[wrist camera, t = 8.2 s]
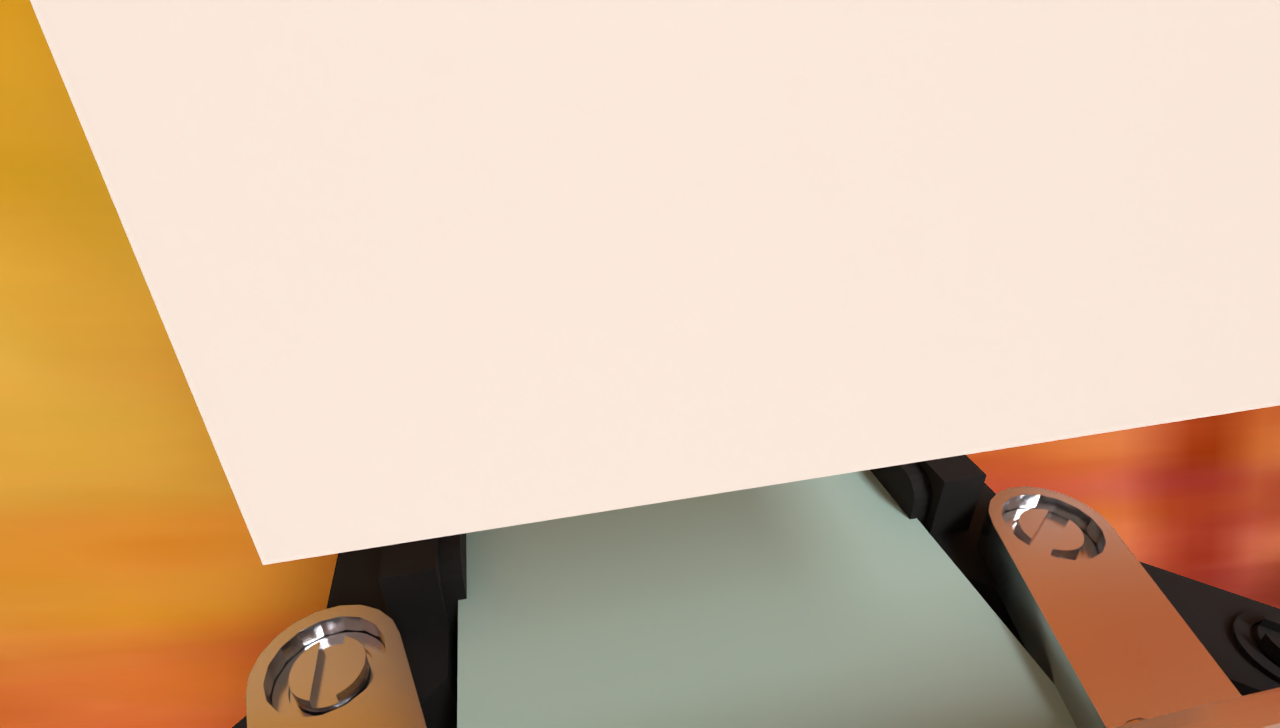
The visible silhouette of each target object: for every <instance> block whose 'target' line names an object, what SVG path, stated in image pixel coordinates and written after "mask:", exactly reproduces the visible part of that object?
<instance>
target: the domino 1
mask: <svg viewBox="0 0 1280 728" xmlns="http://www.w3.org/2000/svg"><path fill="white" fill-rule="evenodd" d="M30 2H31V4H32V7H33V9H34V11H35V14H36V16H37V19H38V21H39V23H40V26H41V28H42V31H43V33H44V36H45V38H46V40H47V43H48V45H49V48H50V50H51V53H52V55H53V57H54V60H55V62H56V65H57V67H58V69H59V72H60V74H61V77H62V79H63V82H64V84H65V86H66V89H67V91H68V94H69V96H70V99H71V101H72V103H73V106H74V108H75V111H76V113H77V116H78V118H79V120H80V123H81V125H82V128H83V130H84V132H85V135H86V137H87V140H88V142H89V145H90V147H91V149H92V152H93V154H94V157H95V159H96V162H97V164H98V166H99V169H100V171H101V174H102V176H103V179H104V181H105V183H106V186H107V188H108V191H109V193H110V195H111V198H112V200H113V203H114V205H115V208H116V210H117V212H118V215H119V217H120V220H121V222H122V225H123V227H124V229H125V232H126V234H127V237H128V239H129V241H130V244H131V246H132V249H133V251H134V254H135V256H136V258H137V261H138V263H139V266H140V268H141V271H142V273H143V275H144V278H145V280H146V283H147V285H148V288H149V290H150V292H151V295H152V297H153V300H154V302H155V304H156V307H157V309H158V312H159V314H160V317H161V319H162V321H163V324H164V326H165V329H166V331H167V334H168V336H169V338H170V341H171V343H172V346H173V348H174V350H175V353H176V355H177V358H178V360H179V363H180V365H181V367H182V370H183V372H184V375H185V377H186V380H187V382H188V384H189V387H190V389H191V392H192V394H193V397H194V399H195V401H196V404H197V406H198V409H199V411H200V413H201V416H202V418H203V421H204V423H205V426H206V428H207V430H208V433H209V435H210V438H211V440H212V443H213V445H214V447H215V450H216V452H217V455H218V457H219V460H220V462H221V464H222V467H223V469H224V472H225V474H226V476H227V479H228V481H229V484H230V486H231V489H232V491H233V493H234V496H235V498H236V501H237V503H238V506H239V508H240V510H241V513H242V515H243V518H244V520H245V522H246V525H247V527H248V530H249V532H250V535H251V537H252V539H253V542H254V544H255V547H256V549H257V552H258V554H259V556H260V559H261V561H262V564H263V565H266V564H273V563H279V562H285V561H292V560H298V559H305V558H311V557H317V556H324V555H330V554H336V553H343V552H349V551H355V550H362V549H368V548H374V547H381V546H387V545H394V544H400V543H406V542H413V541H419V540H425V539H432V538H438V537H444V536H451V535H457V534H464V533H470V532H476V531H483V530H489V529H495V528H502V527H508V526H514V525H521V524H527V523H533V522H540V521H546V520H553V519H559V518H565V517H572V516H578V515H584V514H591V513H597V512H603V511H610V510H616V509H623V508H629V507H635V506H642V505H648V504H654V503H661V502H667V501H673V500H680V499H686V498H693V497H699V496H705V495H712V494H718V493H724V492H731V491H737V490H743V489H750V488H756V487H762V486H769V485H775V484H782V483H788V482H794V481H801V480H807V479H813V478H820V477H826V476H832V475H839V474H845V473H852V472H858V471H864V470H871V469H877V468H883V467H890V466H896V465H902V464H909V463H915V462H921V461H928V460H934V459H941V458H947V457H953V456H960V455H966V454H972V453H979V452H985V451H991V450H998V449H1004V448H1011V447H1017V446H1023V445H1030V444H1036V443H1042V442H1049V441H1055V440H1061V439H1068V438H1074V437H1081V436H1087V435H1093V434H1100V433H1106V432H1112V431H1119V430H1125V429H1131V428H1138V427H1144V426H1150V425H1157V424H1163V423H1170V422H1176V421H1182V420H1189V419H1195V418H1201V417H1208V416H1214V415H1220V414H1227V413H1233V412H1240V411H1246V410H1252V409H1259V408H1265V407H1271V406H1278V405H1280V0H30Z"/></svg>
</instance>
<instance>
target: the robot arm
mask: <svg viewBox="0 0 1280 728" xmlns="http://www.w3.org/2000/svg"><path fill="white" fill-rule="evenodd" d="M870 471H871V472H872V473H873V474H874V476H875V477H876V478H877V479H878V481H879V482H880V483H881V484H882V485H883V487H884V488H885V489H886V490H887V492H888V493H889V494H890V495H891V497H892V498H893V499H894V500H895V501H896V503H897V504H898V505H899V506H900V508H901V509H902V510H903V511H904V513H905V514H906V515H907V516H908V517H909V519H916V518H917V519H918V520H919V521H920V523H921V524H922V525H923V526H924V527H925V529H926V530H927V531H928V532H929V534H930V535H931V536H932V537H933V538H934V540H935V541H936V542H937V543H938V544H939V546H940V547H941V548H942V549H943V550H944V552H945V553H946V554H947V555H948V556H949V558H950V559H951V560H952V561H953V563H954V564H955V565H956V566H957V567H958V569H959V570H960V571H961V572H962V573H963V575H964V576H965V577H966V578H967V579H968V581H969V582H970V583H971V584H972V585H973V587H974V588H975V589H976V590H977V592H978V593H979V594H980V595H981V596H982V598H983V599H984V600H985V601H986V602H987V604H988V605H989V606H990V607H991V608H992V610H993V611H994V612H995V613H996V614H997V616H998V617H999V618H1000V619H1001V621H1002V622H1003V623H1004V624H1005V625H1006V627H1007V628H1008V629H1009V630H1010V631H1011V633H1012V634H1013V635H1014V636H1015V637H1016V639H1017V640H1018V641H1019V642H1020V643H1021V645H1022V646H1023V647H1024V648H1025V650H1026V651H1027V652H1028V653H1029V654H1030V656H1031V657H1032V658H1033V659H1034V660H1035V662H1036V663H1037V664H1038V665H1039V666H1040V668H1041V669H1042V670H1043V671H1044V672H1045V674H1046V675H1047V676H1048V677H1049V679H1050V680H1051V681H1052V682H1053V683H1054V685H1055V686H1056V688H1057V690H1058V692H1059V694H1060V696H1061V698H1062V700H1063V702H1064V704H1065V706H1066V708H1067V709H1068V711H1069V713H1070V715H1071V717H1072V719H1073V721H1074V723H1075V725H1076V727H1077V728H1280V609H1278V608H1275V607H1272V606H1269V605H1266V604H1263V603H1260V602H1257V601H1254V600H1251V599H1248V598H1245V597H1242V596H1240V595H1237V594H1234V593H1231V592H1228V591H1225V590H1222V589H1219V588H1216V587H1213V586H1210V585H1207V584H1204V583H1201V582H1198V581H1195V580H1192V579H1189V578H1186V577H1183V576H1180V575H1177V574H1174V573H1171V572H1169V571H1166V570H1163V569H1160V568H1157V567H1154V566H1151V565H1148V564H1145V563H1142V562H1139V561H1138V560H1137V558H1136V557H1135V556H1134V554H1133V553H1132V552H1131V551H1130V549H1129V548H1128V547H1127V545H1126V544H1125V543H1124V541H1123V540H1122V539H1121V537H1120V536H1119V535H1118V534H1117V532H1116V531H1115V530H1114V528H1113V527H1112V526H1111V525H1110V524H1109V523H1108V522H1107V521H1106V520H1105V519H1104V518H1103V517H1102V516H1101V515H1100V514H1099V513H1097V512H1096V511H1094V510H1093V509H1091V508H1090V507H1088V506H1087V505H1085V504H1084V503H1082V502H1080V501H1078V500H1075V499H1073V498H1071V497H1069V496H1067V495H1065V494H1061V493H1058V492H1054V491H1051V490H1048V489H1043V488H1035V487H1014V488H1009V489H1006V490H1003V491H1001V492H998V493H997V494H995V493H994V492H993V491H992V490H991V489H990V488H989V487H988V486H987V485H986V484H985V483H984V481H985V478H986V474H985V473H984V472H983V471H982V470H981V469H980V468H979V467H978V466H977V465H975V464H974V463H973V462H972V461H971V460H970V459H969V458H968V457H967V456H966V455H960V456H953V457H947V458H941V459H934V460H928V461H921V462H915V463H909V464H902V465H896V466H890V467H883V468H877V469H871V470H870ZM463 599H467V556H466V533H464V534H457V535H451V536H444V537H438V538H432V539H425V540H419V541H413V542H406V543H400V544H394V545H387V546H381V547H374V548H368V549H362V550H355V551H349V552H343V553H338V558H337V562H336V567H335V572H334V576H333V581H332V586H331V590H330V595H329V600H328V605H327V609H324V610H321V611H317V612H315V613H313V614H311V615H309V616H307V617H305V618H303V619H301V620H299V621H297V622H295V623H294V624H292V625H291V626H290V627H288V628H287V629H286V630H284V631H283V632H282V633H280V634H279V635H278V636H276V637H275V638H274V639H273V641H272V642H271V643H270V644H269V645H268V646H267V647H266V649H265V650H264V651H263V652H262V653H261V654H260V655H259V657H258V659H257V661H256V663H255V665H254V667H253V669H252V671H251V673H250V675H249V678H248V684H247V691H246V714H247V715H246V716H245V717H244V718H243V719H242V720H241V721H239V722H238V723H237V724H236V725H235V726H234V727H232V728H457V678H458V600H463Z"/></svg>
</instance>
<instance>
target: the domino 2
mask: <svg viewBox="0 0 1280 728" xmlns="http://www.w3.org/2000/svg"><path fill="white" fill-rule="evenodd" d="M466 556H467V599H463V600H458V678H457V728H1077V727H1076V725H1075V723H1074V721H1073V719H1072V717H1071V715H1070V713H1069V711H1068V709H1067V708H1066V706H1065V704H1064V702H1063V700H1062V698H1061V696H1060V694H1059V692H1058V690H1057V688H1056V686H1055V685H1054V683H1053V682H1052V681H1051V680H1050V679H1049V677H1048V676H1047V675H1046V674H1045V672H1044V671H1043V670H1042V669H1041V668H1040V666H1039V665H1038V664H1037V663H1036V662H1035V660H1034V659H1033V658H1032V657H1031V656H1030V654H1029V653H1028V652H1027V651H1026V650H1025V648H1024V647H1023V646H1022V645H1021V643H1020V642H1019V641H1018V640H1017V639H1016V637H1015V636H1014V635H1013V634H1012V633H1011V631H1010V630H1009V629H1008V628H1007V627H1006V625H1005V624H1004V623H1003V622H1002V621H1001V619H1000V618H999V617H998V616H997V614H996V613H995V612H994V611H993V610H992V608H991V607H990V606H989V605H988V604H987V602H986V601H985V600H984V599H983V598H982V596H981V595H980V594H979V593H978V592H977V590H976V589H975V588H974V587H973V585H972V584H971V583H970V582H969V581H968V579H967V578H966V577H965V576H964V575H963V573H962V572H961V571H960V570H959V569H958V567H957V566H956V565H955V564H954V563H953V561H952V560H951V559H950V558H949V556H948V555H947V554H946V553H945V552H944V550H943V549H942V548H941V547H940V546H939V544H938V543H937V542H936V541H935V540H934V538H933V537H932V536H931V535H930V534H929V532H928V531H927V530H926V529H925V527H924V526H923V525H922V524H921V523H920V521H919V520H918V519H917V518H916V519H909V517H908V516H907V515H906V514H905V513H904V511H903V510H902V509H901V508H900V506H899V505H898V504H897V503H896V501H895V500H894V499H893V498H892V497H891V495H890V494H889V493H888V492H887V490H886V489H885V488H884V487H883V485H882V484H881V483H880V482H879V481H878V479H877V478H876V477H875V476H874V474H873V473H872V472H871V471H870V470H864V471H858V472H852V473H845V474H839V475H832V476H826V477H820V478H813V479H807V480H801V481H794V482H788V483H782V484H775V485H769V486H762V487H756V488H750V489H743V490H737V491H731V492H724V493H718V494H712V495H705V496H699V497H693V498H686V499H680V500H673V501H667V502H661V503H654V504H648V505H642V506H635V507H629V508H623V509H616V510H610V511H603V512H597V513H591V514H584V515H578V516H572V517H565V518H559V519H553V520H546V521H540V522H533V523H527V524H521V525H514V526H508V527H502V528H495V529H489V530H483V531H476V532H470V533H466Z"/></svg>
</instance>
